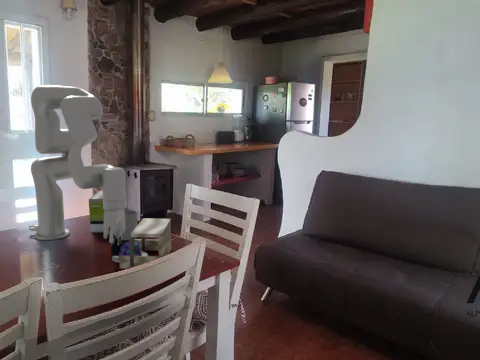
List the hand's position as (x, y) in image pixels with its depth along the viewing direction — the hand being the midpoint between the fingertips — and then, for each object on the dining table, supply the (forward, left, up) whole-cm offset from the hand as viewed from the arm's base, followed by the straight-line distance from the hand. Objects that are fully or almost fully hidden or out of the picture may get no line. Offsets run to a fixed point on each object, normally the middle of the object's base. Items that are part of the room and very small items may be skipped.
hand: (116, 255), depth 134 cm
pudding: (+5, 0, -2) cm, 5 cm away
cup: (-2, +22, -1) cm, 23 cm away
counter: (+11, 0, -1) cm, 11 cm away
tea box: (-14, +34, -1) cm, 37 cm away
